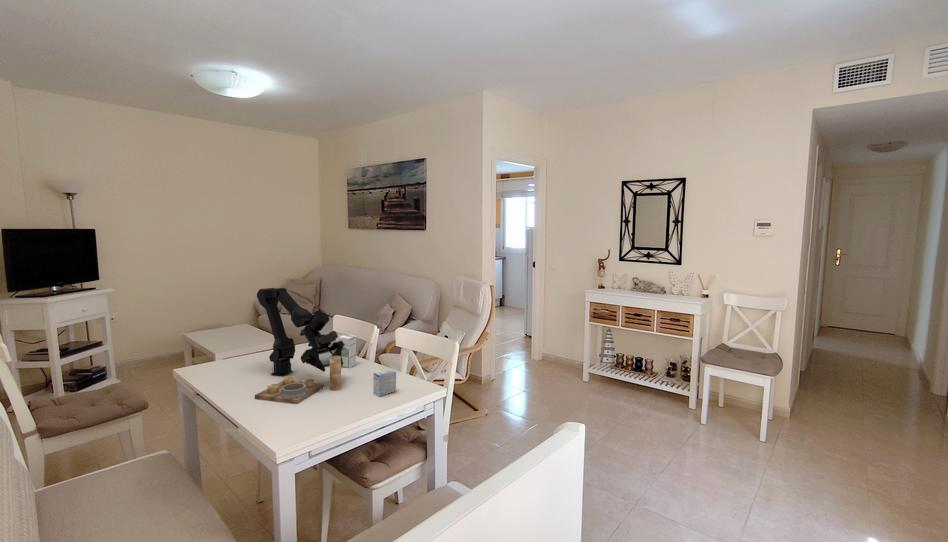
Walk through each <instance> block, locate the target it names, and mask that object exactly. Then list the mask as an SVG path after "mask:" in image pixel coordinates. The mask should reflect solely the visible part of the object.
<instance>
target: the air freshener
mask: <svg viewBox="0 0 948 542" xmlns="http://www.w3.org/2000/svg"><path fill="white" fill-rule="evenodd" d="M331 356H332V354H331V353H330V352H326V353H323V354H320V355H319V359H320V361H321V362H322V364H323V365H324V366H328V365H330V357H331Z"/></svg>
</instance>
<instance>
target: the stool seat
mask: <svg viewBox="0 0 948 542" xmlns="http://www.w3.org/2000/svg"><path fill="white" fill-rule="evenodd" d="M323 387H324V388H325V383H323V382H322V383H321V382H314V379H313V378H304V379H302V380H296V379H295V380H294V377H293V376H291V375H290V376H283V378H282V381H280V382H277V383H270V384H268V385H266V389H264V390H261V391H259V392H257V393H256V394H254V400H260V399H261V401H270V402H276V403H277V402H279V403H287V404H294V405H298V404H300V403H301V402H303V401H304V399H305V400H306V399H307V398H309V397H311V396H312V394H313V395H314V394H316V393H317V392H319V391H320V389H321V390H322V389H324V388H323ZM315 392H316V393H315Z"/></svg>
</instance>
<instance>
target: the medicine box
mask: <svg viewBox="0 0 948 542" xmlns="http://www.w3.org/2000/svg"><path fill="white" fill-rule="evenodd" d="M372 376H373V377H372V381H373V383H372V385H373V387H372V388H373V390H372V393H373V395H375V394H376V395H375V396H377V395H378V396H377V397H379V396H380V397H383V396H386V395H389V394H388V393H390V394H392V393H391V392H393V393H395V392H394V391H396V392H397V371H395V370H394V369H392V368H388V369H383V370H380V371H375V372H373V375H372ZM385 394H386V395H385ZM382 395H383V396H382Z"/></svg>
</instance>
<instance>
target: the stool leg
mask: <svg viewBox="0 0 948 542" xmlns="http://www.w3.org/2000/svg"><path fill="white" fill-rule="evenodd" d="M339 389H340V390H341V389H342V367H341V356H331V357H330V363H329V390H330V391H339Z"/></svg>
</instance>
